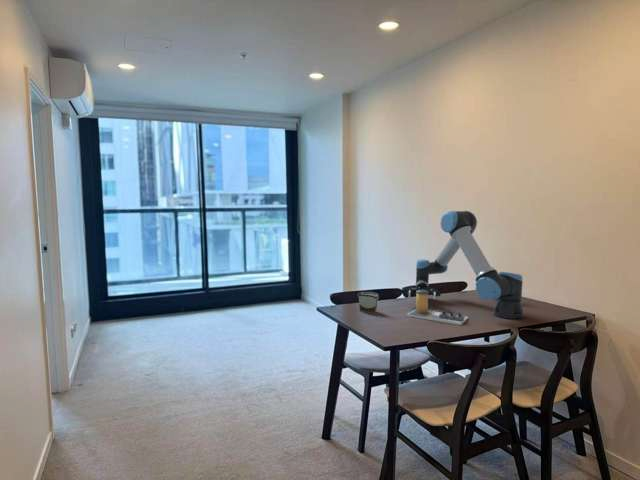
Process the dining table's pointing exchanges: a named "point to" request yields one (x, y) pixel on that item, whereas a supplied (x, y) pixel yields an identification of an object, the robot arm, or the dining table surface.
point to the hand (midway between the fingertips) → (422, 295)
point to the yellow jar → (421, 301)
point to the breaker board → (436, 318)
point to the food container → (368, 301)
